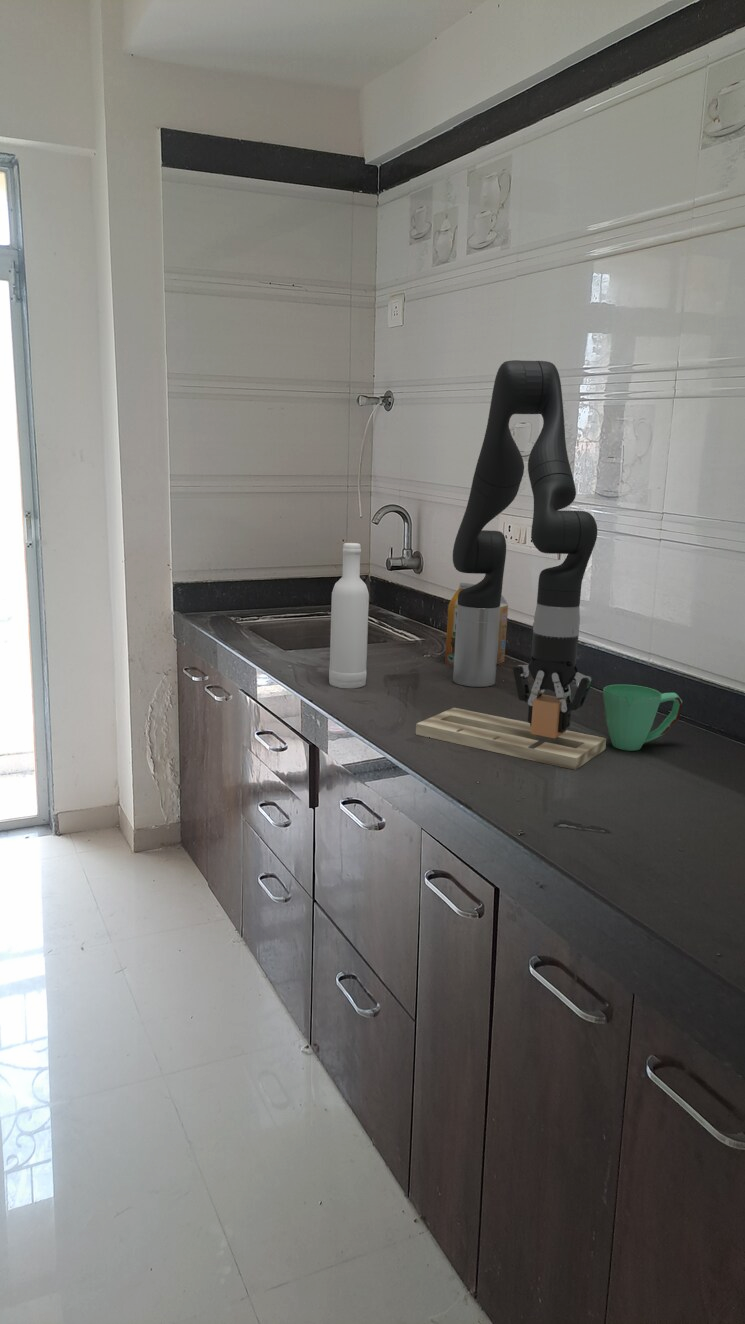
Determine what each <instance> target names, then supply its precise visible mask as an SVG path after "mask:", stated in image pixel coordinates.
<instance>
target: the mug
mask: <svg viewBox="0 0 745 1324" xmlns="http://www.w3.org/2000/svg"><path fill="white" fill-rule="evenodd" d="M602 691H603V693H602V696H603V697H602V698H603V704H604V712H605V720H606V726H607V731H608V734H609V737H610V740H611V745H612V746H613V747H614V748H616V749H618V750H622V751H629V752H630V751H634V752H635V751H639V750H641V749H642V747H643V745H644V744H646V743H648V742H651V741H653V740H655V739H657V738H659V737H661V736H664V735H665V734H666V733H667V732H668V730H670V728H672V726H673V725H674V724H675V723H676V722H677V721H678V720H679V719H680V716H681V711H682V706H683V700H682V699H681V698H680V696H679V695H678V694H677V693H676V692H664V693H663V692H660V691H658V690H657V689H654V688H650V687H646V686H642V685H634V684H610V685H606V686H605V687H603V690H602ZM668 701H671V702H672V701H673V704H672V708H671V711H670V712H669V714H668V715H667V716H666V718H665V719H664V720H663V721H662V722H661V723H660V724H659V726H658V727H657V728H655V729H653V730H652V727H653V725H654V722H655V717H656V715H657V712H658V710H659V706H660V704H662V703H664V702H665V703H666V702H668Z"/></svg>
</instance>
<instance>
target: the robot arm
mask: <svg viewBox="0 0 745 1324" xmlns="http://www.w3.org/2000/svg"><path fill="white" fill-rule="evenodd" d="M561 382H562V381H561V378H560V374H559V371H558V368H557V367H556V365H555V364H554V363H552V362H551V361H547V360H545V361H544V360H515V359H514V360H506V361H503V363H501V365H500V366H499V368H498V369H497V372H496V375H495V378H494V383H493V389H492V394H491V401H490V406H489V413H488V417H487V425H486V429H485V432H484V438H483V442H482V445H481V449H480V452H479V456H478V459H477V463H476V465H475V469H474V474H473V478H472V482H471V488H470V491H469V492H470V493H469V496H468V499H467V504H466V508H465V511H464V515H463V516H462V517H463V518H462V520H461V522H460V525H459V528H458V531H457V533H456V537H455V539H454V540H455V541H454V544H453V550H452V563H453V567H454V568H455V570H457V571H458V572H460V573H463V574H473V575H475V574H476V575H479V574H480V575H482V574H483V575H484V576H483V579H482V580H481V581H478V583H475V584H476V585H474V586H471V587H468V588H465V589H463V590H461V591H460V592H459V594H458V604H457V622H456V639H455V656H454V665H453V673H452V674H453V676H452V682H453V683H455V684H458V685H462V686H466V687H473V688H474V687H476V688H477V687H481V688H482V687H483V688H485V687H489V686H490V687H491V686H494V685H495V684H496V677H497V676H496V675H497V666H498V665H497V650H498V632H499V617H500V602H501V595H503V594H502V592H503V584H504V583H503V582H504V575H505V574H504V573H505V566H506V565H505V564H506V560H507V559H506V556H507V541H506V540H507V539H506V537H505V534H504V533H503V532H502V531H500V530H489V529H488V530H487V529H486V530H483V529H484V527H486V526H487V524H489V522H491V521H492V520H493V519H495V518H496V517H497V516H498V515H500V513H502V512H504V511H505V510H506V509H507V508H508V507H509V506H510V505H511V503H513V502H514V500H515V499H516V497H517V495H518V492H519V490H520V486H521V482H522V479H523V477H524V472H525V464H524V462H525V461H524V458H523V455H522V453H521V452H520V450H519V447H518V446H517V444H516V442H515V440H514V438H513V435H512V433H511V429H510V420H511V417H512V416H514V415H541V417H542V421H543V425H542V428H541V430H540V432H539V433H540V434H539V435H538V437H537V439H536V440H535V442H534V444H533V446H532V447H531V451H530V453H529V455H528V461H527V472H528V473H527V474H528V479H529V482H530V487H531V492H532V497H533V515H532V521H531V522H532V524H531V531H530V538H531V541H532V544H533V545H534V547H535V549H537V550H538V551H539V552H540V553H542V554H549V555H550V554H552V555H553V554H554V555H555V554H556V555H558V554H560V555H562V554H563V555H566V554H567V555H566V557H565V559H564V560H563V562H562V563H561V564H559V565H556V566H552V567H548V568H544V569H542V570H541V571H540V572H539V575H538V583H537V597H536V608H535V612H534V615H533V616H534V618H533V622H532V629H533V630H532V640H531V643H532V644H531V654H530V655H531V658H530V661H529V663H528V664H518V665H516V666H514V667H513V668H512V671H513V677H514V682H515V687H516V692H517V697H518V700H519V701H521V702H522V701H523V702H525V703H527V705H528V711H527V712H528V714H527V722H528V723H530V726H531V722H532V709H533V699H535V698H537V697H540V696H542V695H544V693H545V690H550V691H552V692H555V695H556V696H555V697H557V699H558V700H559V703H560V710H561V711H560V712H559V723H558V732H559V733H563V732H565V731H566V730H568V729H569V728H570V725H571V715H572V711H577V710H579V709H580V708H582V707H583V705H584V703H585V700H586V698H587V696H588V693H589V691H590V688H591V686H592V683H593V680H594V678H593V676H592V675H585V674H583V673H580V672H579V669H578V667H577V665H576V664H577V658H578V647H579V646H578V645H579V636H580V634H579V633H580V622H581V612H580V607H581V606H580V605H581V596H582V594H581V593H582V583H583V579H584V576H585V574H586V573H585V572H586V570H587V567H588V564H589V560H590V558H591V555H592V553H593V551H594V548H595V546H596V542H597V538H598V526H597V522H596V519H595V517H594V516H593V515H592V514H591V513H590V512H588V511H585V510H584V511H583V510H563V509H565V508H566V507H567V508H568V507H569V506H570V505H571V504H572V503H573V502H574V501H575V500H576V495H577V491H576V483H575V481H574V477H573V472H572V468H571V464H570V461H569V456H568V450H567V449H568V448H567V443H566V430H565V416H564V415H565V414H564V403H563V402H564V401H563V391H562V384H561ZM496 665H497V666H496ZM529 675H531V677H532V678H533V680H534V682H533V685H532V688H531V689H530V684H529V679H528V677H529ZM574 680H575V681H576V682H575V683H576V684H575V685H576V687H577V689H576V692H575V694H574V697H573V699H572V697H571V695H572V690H571V687H570V684H571V683H572V682H573V681H574Z"/></svg>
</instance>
